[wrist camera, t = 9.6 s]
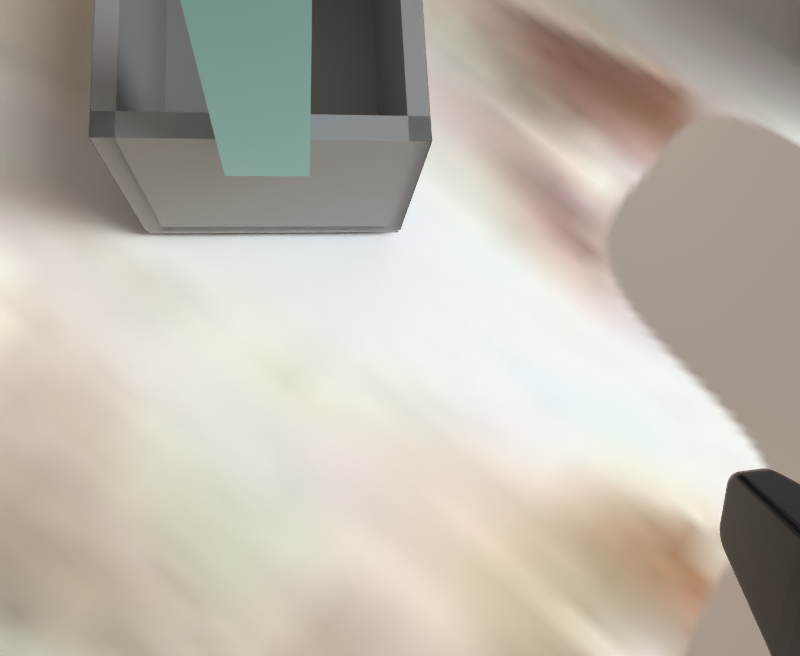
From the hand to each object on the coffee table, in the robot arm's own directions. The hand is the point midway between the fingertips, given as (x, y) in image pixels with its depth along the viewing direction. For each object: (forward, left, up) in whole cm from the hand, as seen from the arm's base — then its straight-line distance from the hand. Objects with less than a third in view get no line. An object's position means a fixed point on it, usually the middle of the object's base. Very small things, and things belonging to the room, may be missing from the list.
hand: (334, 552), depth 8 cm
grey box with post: (+10, +10, -12) cm, 18 cm away
